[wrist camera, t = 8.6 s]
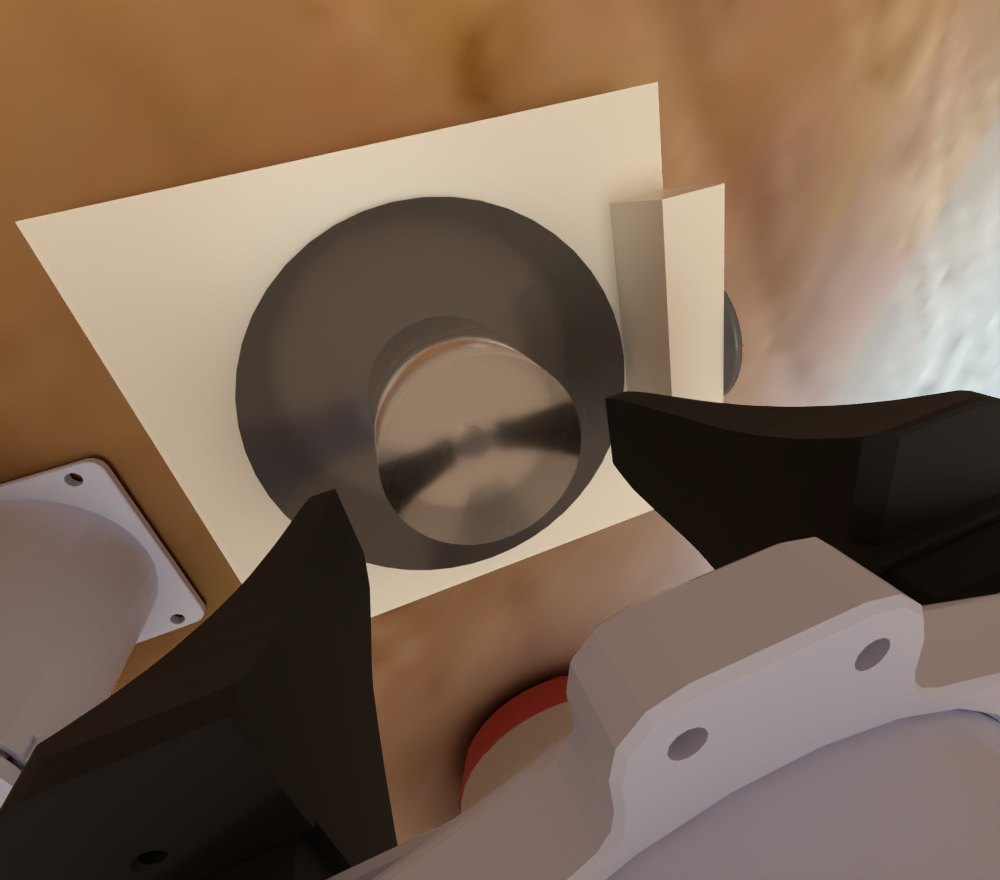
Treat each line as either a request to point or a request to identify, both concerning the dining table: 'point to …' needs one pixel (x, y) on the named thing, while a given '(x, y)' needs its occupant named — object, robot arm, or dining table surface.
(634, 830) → the robot arm
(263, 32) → the dining table surface
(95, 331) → the base
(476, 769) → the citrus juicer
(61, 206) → the dining table surface
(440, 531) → the cylinder
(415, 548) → the pan
